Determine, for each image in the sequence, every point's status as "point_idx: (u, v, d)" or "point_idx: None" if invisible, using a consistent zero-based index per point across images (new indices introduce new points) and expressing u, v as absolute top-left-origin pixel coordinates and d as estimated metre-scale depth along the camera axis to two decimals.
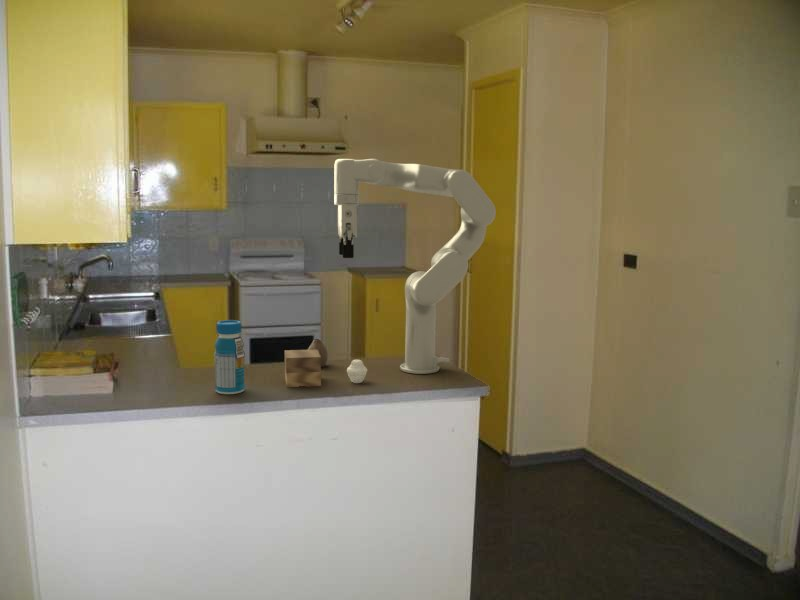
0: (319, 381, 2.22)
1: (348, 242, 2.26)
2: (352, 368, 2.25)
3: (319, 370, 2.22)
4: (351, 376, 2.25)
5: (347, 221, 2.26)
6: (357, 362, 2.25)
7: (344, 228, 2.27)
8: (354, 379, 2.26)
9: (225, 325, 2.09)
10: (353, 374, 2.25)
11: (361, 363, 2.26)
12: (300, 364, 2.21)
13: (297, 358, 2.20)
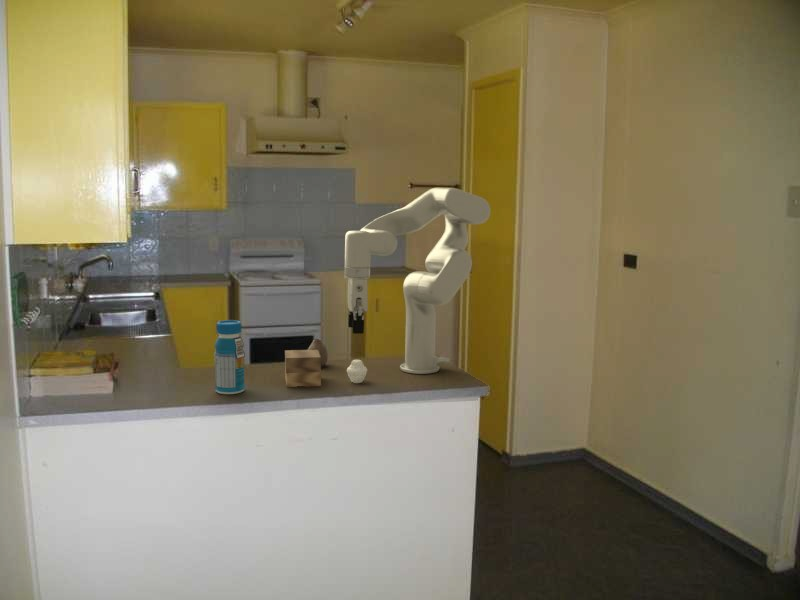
0: (319, 381, 2.22)
1: (358, 318, 2.18)
2: (352, 368, 2.25)
3: (319, 370, 2.22)
4: (351, 376, 2.25)
5: (357, 295, 2.18)
6: (357, 362, 2.25)
7: (354, 303, 2.19)
8: (354, 379, 2.26)
9: (225, 325, 2.09)
10: (353, 374, 2.25)
11: (361, 363, 2.26)
12: (300, 364, 2.20)
13: (297, 358, 2.20)
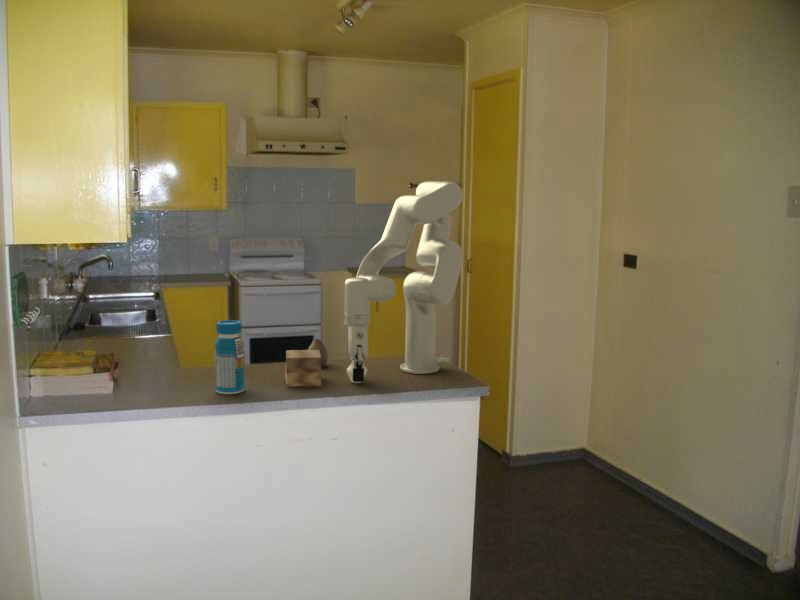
0: (319, 381, 2.22)
1: (358, 367, 2.22)
2: (351, 368, 2.25)
3: (319, 370, 2.22)
4: (351, 376, 2.25)
5: (357, 343, 2.21)
6: None
7: (355, 350, 2.21)
8: None
9: (225, 325, 2.09)
10: None
11: None
12: (300, 364, 2.21)
13: (297, 358, 2.20)
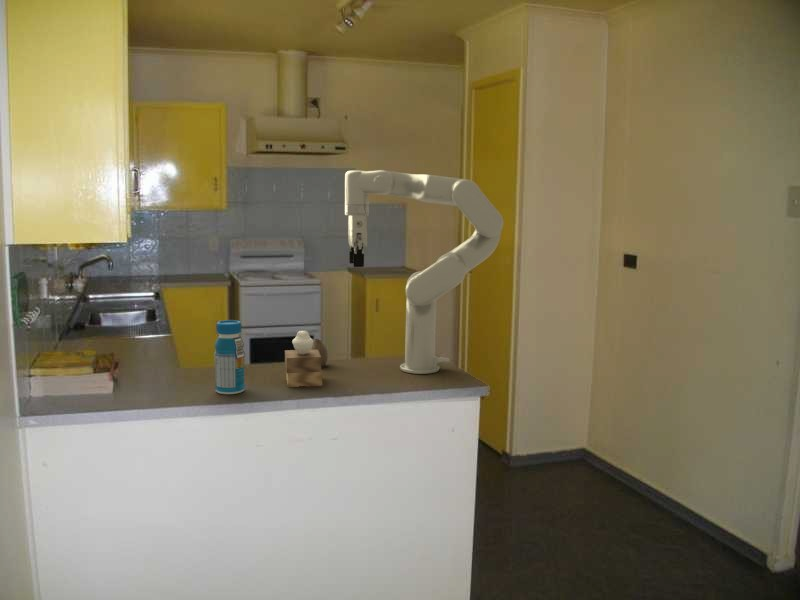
0: (320, 381, 2.22)
1: (359, 251, 2.32)
2: (296, 339, 2.23)
3: (319, 370, 2.22)
4: (296, 347, 2.23)
5: (357, 231, 2.33)
6: (302, 333, 2.23)
7: (355, 238, 2.33)
8: (298, 350, 2.23)
9: (225, 325, 2.09)
10: (297, 345, 2.22)
11: (306, 334, 2.24)
12: (301, 364, 2.21)
13: (297, 358, 2.20)
